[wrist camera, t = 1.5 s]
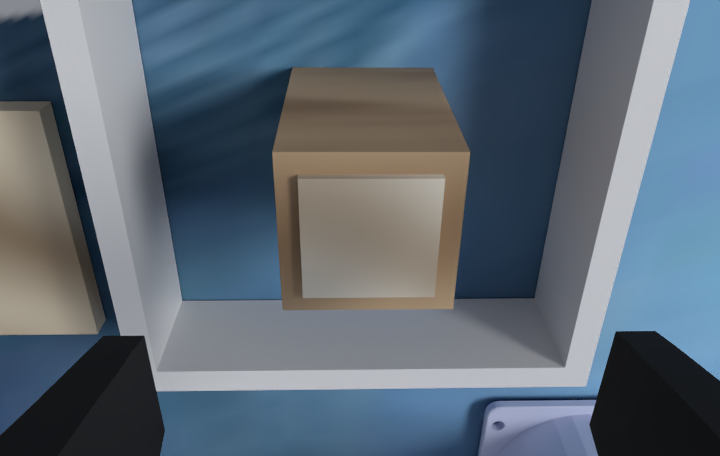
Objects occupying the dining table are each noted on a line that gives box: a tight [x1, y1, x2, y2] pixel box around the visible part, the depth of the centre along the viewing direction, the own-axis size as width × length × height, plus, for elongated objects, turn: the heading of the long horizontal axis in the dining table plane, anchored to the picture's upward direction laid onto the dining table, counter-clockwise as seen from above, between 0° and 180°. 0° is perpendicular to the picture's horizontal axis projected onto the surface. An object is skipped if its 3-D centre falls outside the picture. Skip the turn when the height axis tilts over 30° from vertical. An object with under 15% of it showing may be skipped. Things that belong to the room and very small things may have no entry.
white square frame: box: [40, 0, 690, 391], centre depth 17 cm, size 14×14×4 cm
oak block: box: [272, 67, 470, 310], centre depth 16 cm, size 4×4×6 cm
